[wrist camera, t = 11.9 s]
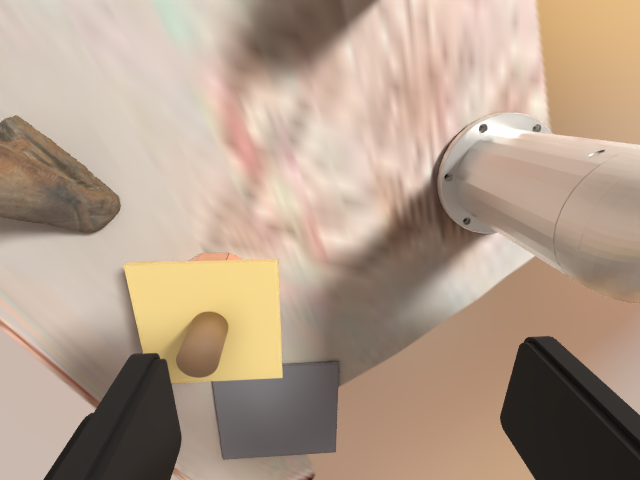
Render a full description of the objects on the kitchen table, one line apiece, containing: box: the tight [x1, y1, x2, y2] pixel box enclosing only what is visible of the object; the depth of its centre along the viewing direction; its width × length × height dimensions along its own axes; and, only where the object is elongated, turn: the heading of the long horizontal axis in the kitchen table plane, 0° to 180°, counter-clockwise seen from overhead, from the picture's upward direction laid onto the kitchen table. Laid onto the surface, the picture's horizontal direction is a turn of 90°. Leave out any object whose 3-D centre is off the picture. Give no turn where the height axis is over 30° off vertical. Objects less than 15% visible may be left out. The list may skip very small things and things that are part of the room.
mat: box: [212, 361, 339, 459], centre depth 47 cm, size 16×16×1 cm
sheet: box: [124, 259, 283, 383], centre depth 33 cm, size 14×14×6 cm
